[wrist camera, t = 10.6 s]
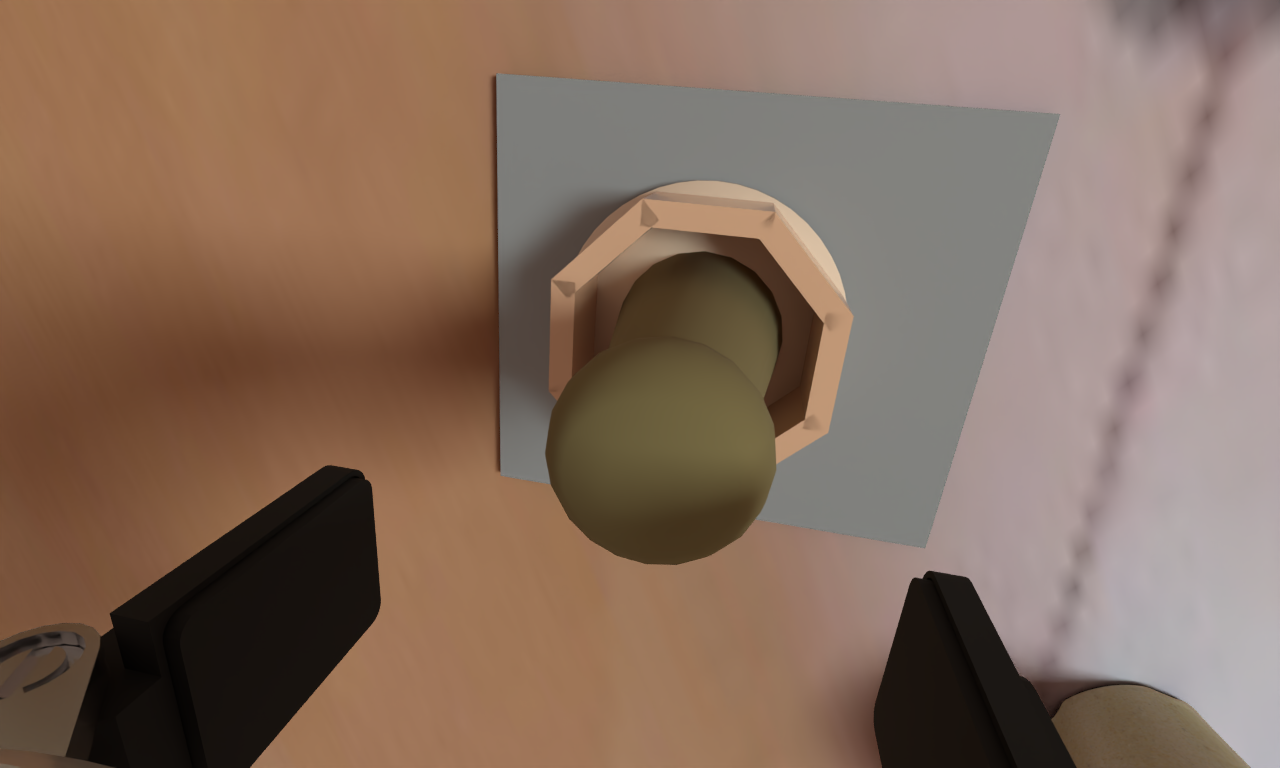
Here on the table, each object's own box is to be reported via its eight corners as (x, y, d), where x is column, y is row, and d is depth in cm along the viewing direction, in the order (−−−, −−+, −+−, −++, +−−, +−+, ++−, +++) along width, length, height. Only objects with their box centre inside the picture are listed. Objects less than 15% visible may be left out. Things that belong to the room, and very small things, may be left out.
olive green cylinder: (673, 435, 24) (610, 645, 14) (587, 306, 23) (449, 435, 13) (814, 362, 22) (858, 547, 12) (727, 216, 21) (695, 286, 11)
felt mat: (922, 542, 25) (925, 548, 24) (504, 471, 27) (500, 475, 27) (1054, 114, 19) (1060, 114, 18) (500, 74, 21) (496, 73, 21)
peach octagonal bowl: (816, 468, 24) (824, 519, 21) (563, 428, 26) (533, 470, 22) (874, 195, 20) (896, 205, 17) (572, 166, 22) (537, 170, 18)
